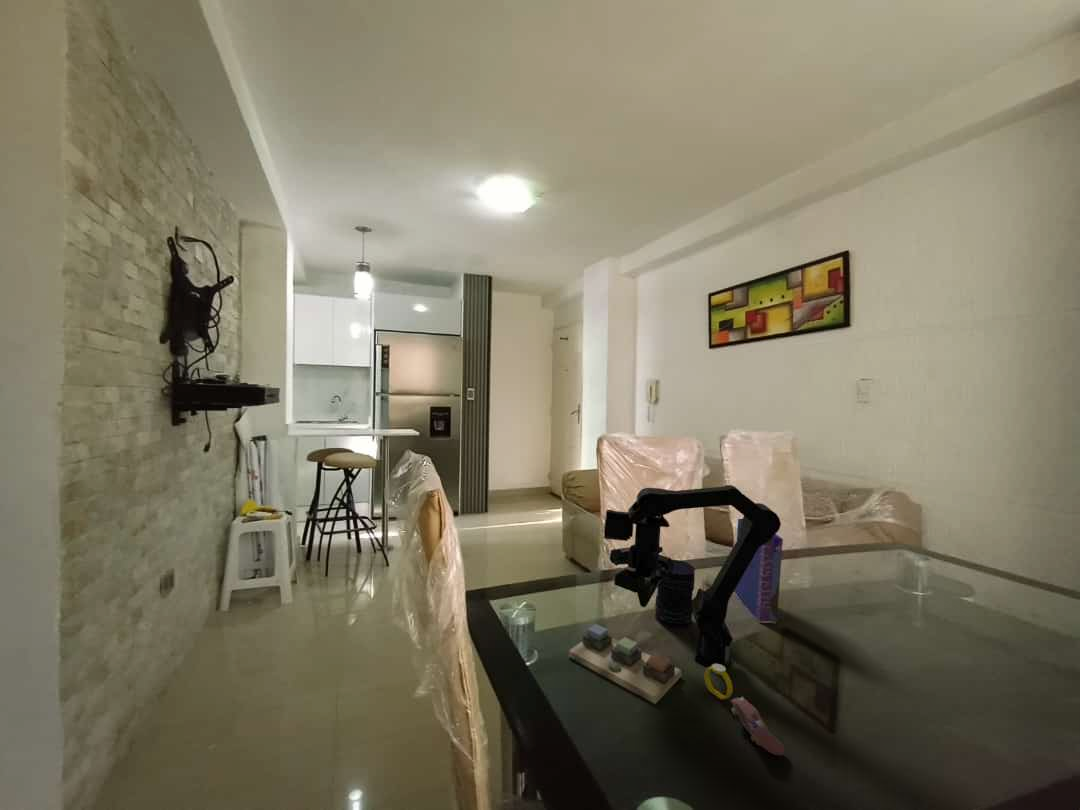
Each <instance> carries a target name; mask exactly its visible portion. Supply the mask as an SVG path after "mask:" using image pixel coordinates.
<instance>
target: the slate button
mask: <svg viewBox="0 0 1080 810" xmlns="http://www.w3.org/2000/svg"><path fill="white" fill-rule="evenodd" d="M608 630H609V629H608V628H606V627H604V626H601V625H599V624H597V623H594V625H591V626H590V627H589V628H587V632H588V637H590V638H592V639H595V640H597V641H599V642H601V641H602V640H604V639H605V638H606V637H607V634H609V631H608Z"/></svg>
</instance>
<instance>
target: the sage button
mask: <svg viewBox="0 0 1080 810" xmlns="http://www.w3.org/2000/svg"><path fill="white" fill-rule="evenodd" d="M637 647H638V642H636V641H635V640H632V639H629V638H627V637H625V636H624V637H622V638H621V639H620V640H619V642H617V648H616V650H617V651H619V652H621V653H623V654H625V655H627V656H629V657H631V656H632V655H633V654H634V653H635V652H636V651H637Z"/></svg>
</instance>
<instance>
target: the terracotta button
mask: <svg viewBox="0 0 1080 810" xmlns="http://www.w3.org/2000/svg"><path fill="white" fill-rule="evenodd" d="M650 656H651V657H649V661H648V666H650V667H652V668H654V669H656V670H658V671H660V672H662V673H664V672H665V671H666V670H667V669H668V668H669V667H670V663H671V658H670V657H669V656H666V655H664V654H662V653H659V652H658V651H655V652H653V654H652V655H650Z"/></svg>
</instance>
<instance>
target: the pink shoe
mask: <svg viewBox="0 0 1080 810" xmlns="http://www.w3.org/2000/svg"><path fill="white" fill-rule="evenodd" d="M730 702H731V704H732V707H731V712H732V714H733V715H735V716H738V717H739V719H740V721H741V723H742V726H743V727H744V728H745V730H746V731H747V732H748V733H749V734H750V739H751V741H752V742H754V743H755V745H756V746H757V745H758V746H761V747H762V748H763V749H764V750H765V751H767V752H769V753H770V754H771V755H773V756H774V755H775V756H777V755H778V756H779V757H780V756H783V755H784V752H785V747H784V745H783V743H782V742H781V741H780V740H779V739H778V738H776V737H775V736H774V735H773V734H772V732H771V731H770V730H769V728H768V727H767V726H766V724H765V722H764V721H763V719H762V718H761V716H760V713H759V710H758V709H757V708H756V707H755V706H754V705H752V704H751V703H750V702H749V701H748V700H746V699H745V698H744V696H741V697H735V698H733V699H731V700H730ZM778 756H777V757H778Z"/></svg>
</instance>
